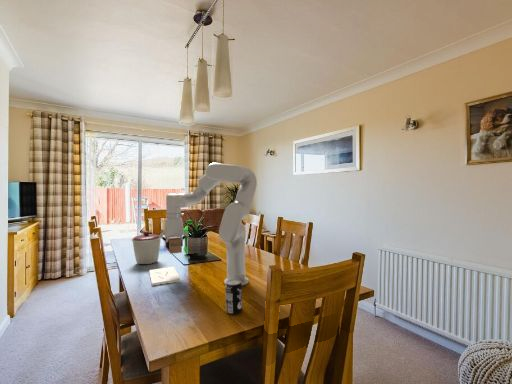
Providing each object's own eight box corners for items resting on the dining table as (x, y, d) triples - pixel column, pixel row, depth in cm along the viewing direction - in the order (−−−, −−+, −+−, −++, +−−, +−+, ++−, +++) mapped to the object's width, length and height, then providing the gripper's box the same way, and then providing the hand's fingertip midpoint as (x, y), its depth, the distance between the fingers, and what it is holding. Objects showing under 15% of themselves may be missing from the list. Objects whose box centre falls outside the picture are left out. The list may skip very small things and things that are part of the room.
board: (180, 281, 144) (180, 278, 144) (151, 286, 138) (151, 283, 138) (174, 269, 166) (173, 266, 166) (149, 272, 160) (149, 270, 160)
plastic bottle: (180, 254, 200) (179, 220, 200) (193, 251, 208) (192, 219, 207) (187, 256, 193) (186, 221, 193) (200, 253, 201) (199, 220, 200)
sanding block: (181, 252, 148) (181, 239, 148) (170, 253, 146) (170, 240, 145) (178, 248, 157) (178, 236, 157) (167, 249, 155) (167, 237, 154)
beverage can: (242, 307, 112) (241, 278, 112) (242, 315, 105) (241, 284, 105) (226, 308, 112) (225, 279, 111) (225, 315, 105) (224, 285, 105)
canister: (150, 257, 193) (148, 228, 193) (167, 260, 184) (166, 229, 183) (126, 264, 178) (125, 232, 177) (144, 268, 169) (143, 234, 168)
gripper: (188, 214, 158) (189, 245, 158) (156, 216, 151) (157, 248, 151) (190, 215, 151) (191, 248, 151) (157, 217, 144) (158, 251, 145)
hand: (174, 248), depth 151 cm, fingers closed on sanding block, 6 cm apart
